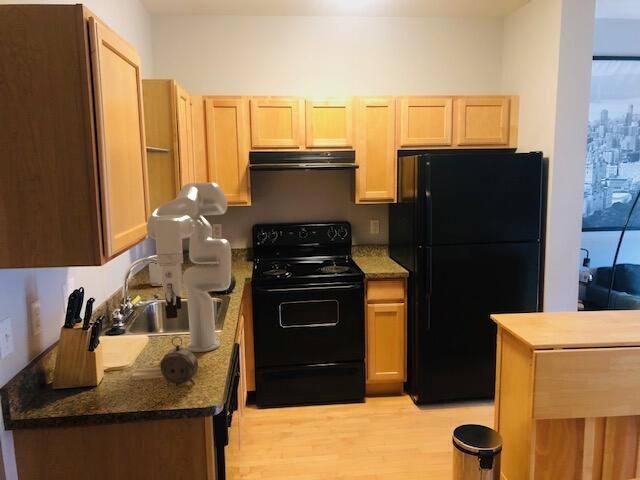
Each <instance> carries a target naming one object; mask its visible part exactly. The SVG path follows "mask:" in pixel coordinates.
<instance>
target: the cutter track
mask: <svg viewBox="0 0 640 480" xmlns="http://www.w3.org/2000/svg"><path fill="white" fill-rule="evenodd" d="M131 378H132V379H131V380H132V381H137V380H146V379H147V380H148V379H158V378H164V376H163V374H162V372H161V368H160V366H159V367H148V368H138V369H134V371H133V373H132V375H131Z"/></svg>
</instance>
